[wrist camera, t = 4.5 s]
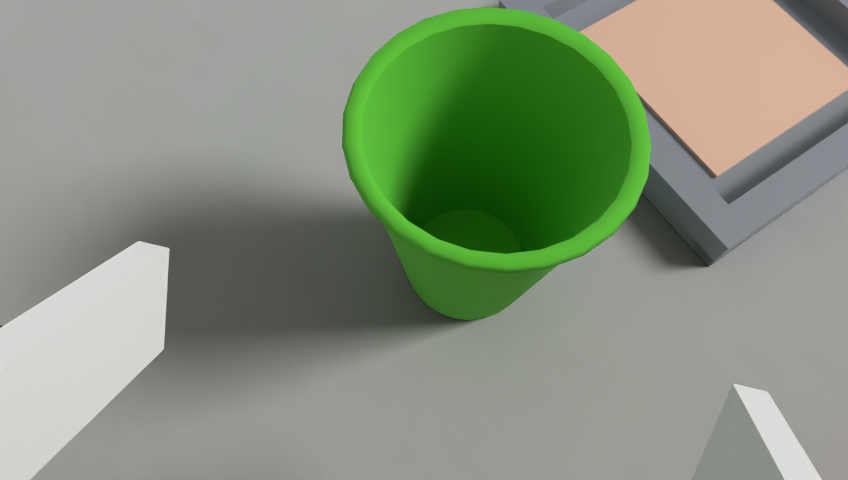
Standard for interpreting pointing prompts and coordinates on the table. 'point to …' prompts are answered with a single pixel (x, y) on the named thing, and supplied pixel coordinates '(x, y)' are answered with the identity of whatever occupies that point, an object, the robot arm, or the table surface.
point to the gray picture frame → (727, 103)
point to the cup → (493, 152)
